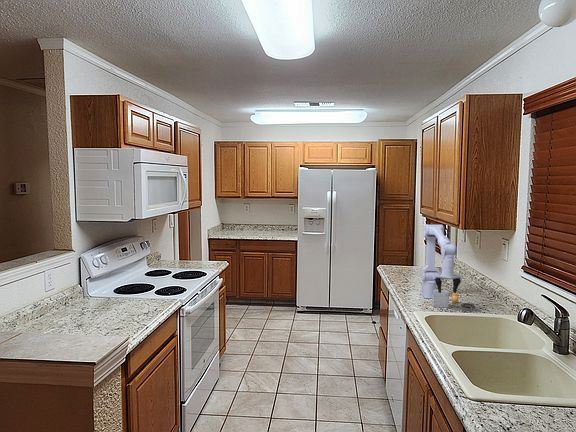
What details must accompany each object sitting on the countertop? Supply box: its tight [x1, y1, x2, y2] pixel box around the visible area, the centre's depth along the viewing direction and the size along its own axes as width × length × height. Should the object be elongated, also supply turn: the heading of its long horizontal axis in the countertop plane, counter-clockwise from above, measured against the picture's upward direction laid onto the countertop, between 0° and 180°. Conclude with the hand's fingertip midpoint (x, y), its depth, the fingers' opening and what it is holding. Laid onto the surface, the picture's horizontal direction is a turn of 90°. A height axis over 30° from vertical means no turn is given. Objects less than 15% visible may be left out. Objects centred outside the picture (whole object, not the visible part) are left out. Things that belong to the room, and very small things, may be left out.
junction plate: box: [455, 302, 482, 312], centre depth 211 cm, size 10×9×2 cm
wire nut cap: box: [451, 291, 459, 305], centre depth 219 cm, size 3×3×6 cm
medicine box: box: [432, 289, 450, 309], centre depth 213 cm, size 8×4×9 cm, turn 74°
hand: (447, 292), depth 204 cm, fingers open, 7 cm apart
